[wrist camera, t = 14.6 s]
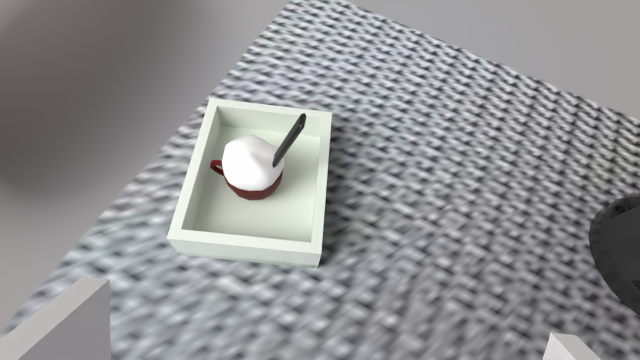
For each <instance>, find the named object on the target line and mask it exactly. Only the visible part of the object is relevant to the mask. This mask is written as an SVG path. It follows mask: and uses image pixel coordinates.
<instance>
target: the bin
mask: <svg viewBox="0 0 640 360" xmlns="http://www.w3.org/2000/svg"><path fill="white" fill-rule="evenodd" d="M303 113H305V114H306V121H305V126H304V128H303V130H302V131H301V133H300V134H299V135H298V137H297V138H296V140H295V141H294V142H293V144H292V145H291V147H290V148H289V149H288V151H287V152H286V154H285V155H284V169H283V174H282V180H281V183H280V185H279V186H278V187H277V189H276V190H275V191H274V192H273V194H272V195H270V196H268V197H266V198H264V199H262V200H252V201H249V200H247V199H244V198H241V197H239V196H238V195H237V194H236V193H235V192H234V191H233V190H232V189H231V188H230V187H229V186H228V185H227V183H226V181H225V178H224V176H222V175H220V174H218V173H217V172H215V171H213V170H212V169H211V167H210V163H211V161H212V160H221V161H222V159H223V154H224V150H225V146H226V144H228V143H229V142H231V141H232V140H234V139H237V138H240V137H244V136H247V135H251V134H254V135H255V136H257V137H259V138H262V139H264V140H266V141H267V142H268V143H270V144H271V145H273V146H275V147H277V148H279V147H280V145H281V144H282V142H283V141H284V139H285V138H286V136H287V135H288V133H289V132H290V130H291V129H292V127H293V126H294V124H295V122H296V121H297V119H298V118H299V116H300V115H301V114H303ZM331 119H332V112H324V111H315V110H307V109H298V108H290V107H281V106H273V105H264V104H256V103H247V102H238V101H230V100H221V99H213V98H210V100H209V103H208V106H207V110H206V113H205V116H204V119H203V123H202V126H201V129H200V132H199V136H198V139H197V142H196V145H195V149H194V152H193V155H192V158H191V161H190V165H189V168H188V171H187V174H186V178H185V181H184V184H183V187H182V191H181V194H180V197H179V200H178V204H177V207H176V210H175V213H174V217H173V220H172V223H171V226H170V230H169V233H168V236H167V239H168V241H169V242H170V243H171V245H172V246H173V247H174V249H175V250H176V251H177V253H178V254H179V255H187V256H197V257H207V258H217V259H227V260H237V261H247V262H257V263H267V264H277V265H287V266H297V267H307V268H318V264H319V261H320V257H321V252H322V239H323V225H324V212H325V199H326V185H327V172H328V159H329V146H330V132H331ZM216 166H217V167H218V168H220V169H222V167H221V166H218V165H216Z"/></svg>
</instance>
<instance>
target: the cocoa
mask: <svg viewBox="0 0 640 360" xmlns="http://www.w3.org/2000/svg"><path fill="white" fill-rule="evenodd" d="M305 121H306V114H305V113H303V114H301V115H300V116H299V118H298V119H297V121H296V122H295V124H294V126H293V127H292V129H291V130H290V132H289V133H288V135H287V136H286V138H285V139H284V141H283V142H282V144H281V145H280V147H279V148H277V147H275V146H273V145H271V144H270V143H268V142H267V141H266V140H264V139H262V138H259V137H257V136H255V135H254V134H251V135H247V136H244V137H240V138H237V139H234V140H232V141H231V142H229V143H228V144H226V146H225V150H224V154H223V159H222V161H221V160H212V161H211V163H210V167H211V169H212V170H213V171H215V172H217V173H218V174H220V175H222V176H224V178H225V181H226V183H227V185H228V186H229V187H230V188H231V189H232V190H233V191H234V192H235V193H236V194H237V195H238V196H239V197H241V198H244V199H247V200H249V201H252V200H262V199H264V198H266V197H268V196H270V195H272V194H273V192H274V191H275V190H276V189H277V187H278V186H279V185H280V183H281V180H282V174H283V169H284V155H285V154H286V152H287V151H288V149H289V148H290V147H291V145H292V144H293V142H294V141H295V140H296V138H297V137H298V135H299V134H300V133H301V131H302V130H303V128H304V126H305ZM216 165H218V166H221V167H222V169H220V168H218V167H217V166H216Z"/></svg>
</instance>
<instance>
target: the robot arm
mask: <svg viewBox="0 0 640 360" xmlns="http://www.w3.org/2000/svg"><path fill="white" fill-rule="evenodd" d="M589 239H590V247H591V252H592V255H593V258H594V261H595V263H596V266H597V268H598V270H599V271H600V273H601V275H602V277H603V278H604V280H605V281H606V283H607V284H608V285H609V287H610V288H611V289H612V290H613V292H614V293H615V294H616V295H617V296H618V297H619V298H620V299H621V300H622V301H623V302H624V303H625V304H626V305H627V306H628V307H629V308H631V309H632V310H633V311H634V312H636V313H637V314H638V315H640V194H634V195H630V196H626V197H623V198H621V199H618V200H617V201H615V202H613V203H611V204H610V205H608V206H606V207H604V208H603V209H601V210H600V211H599V212H598V213H597V214H596V216H595V217H594V219H593V221H592V224H591V227H590V234H589ZM110 359H111V346H110V295H109V279H101V278H92V277H84V276H83V277H81V278H80V279H79V280H78V281H76V282H75V283H74V284H72V285H71V286H70V287H68V288H67V289H66V290H65V291H63V292H62V293H61V294H59V295H58V296H57V297H55V298H54V299H53V300H51V301H50V302H49V303H48V304H46V305H45V306H44V307H42V308H41V309H40V310H38V311H37V312H36V313H35V314H33V315H32V316H31V317H29V318H28V319H27V320H25V321H24V322H23V323H21V324H20V325H19V326H18V327H16V328H15V329H14V330H12V331H11V332H10V333H8V334H7V335H6V336H5V337H3V338H2V339H1V340H0V360H110ZM542 360H601V359H600V358H599V357H598V356H597V355H596V354H595V353H594V352H593V351H592V350H591V349H590V348H589V347H588V346H587V345H586V344H585V343H584V342H583V341H582V340H581V339H580V338H579V337H578V336H576V335H568V334H560V333H551V335H550V338H549V341H548V344H547V347H546V350H545V353H544V356H543V359H542Z"/></svg>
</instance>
